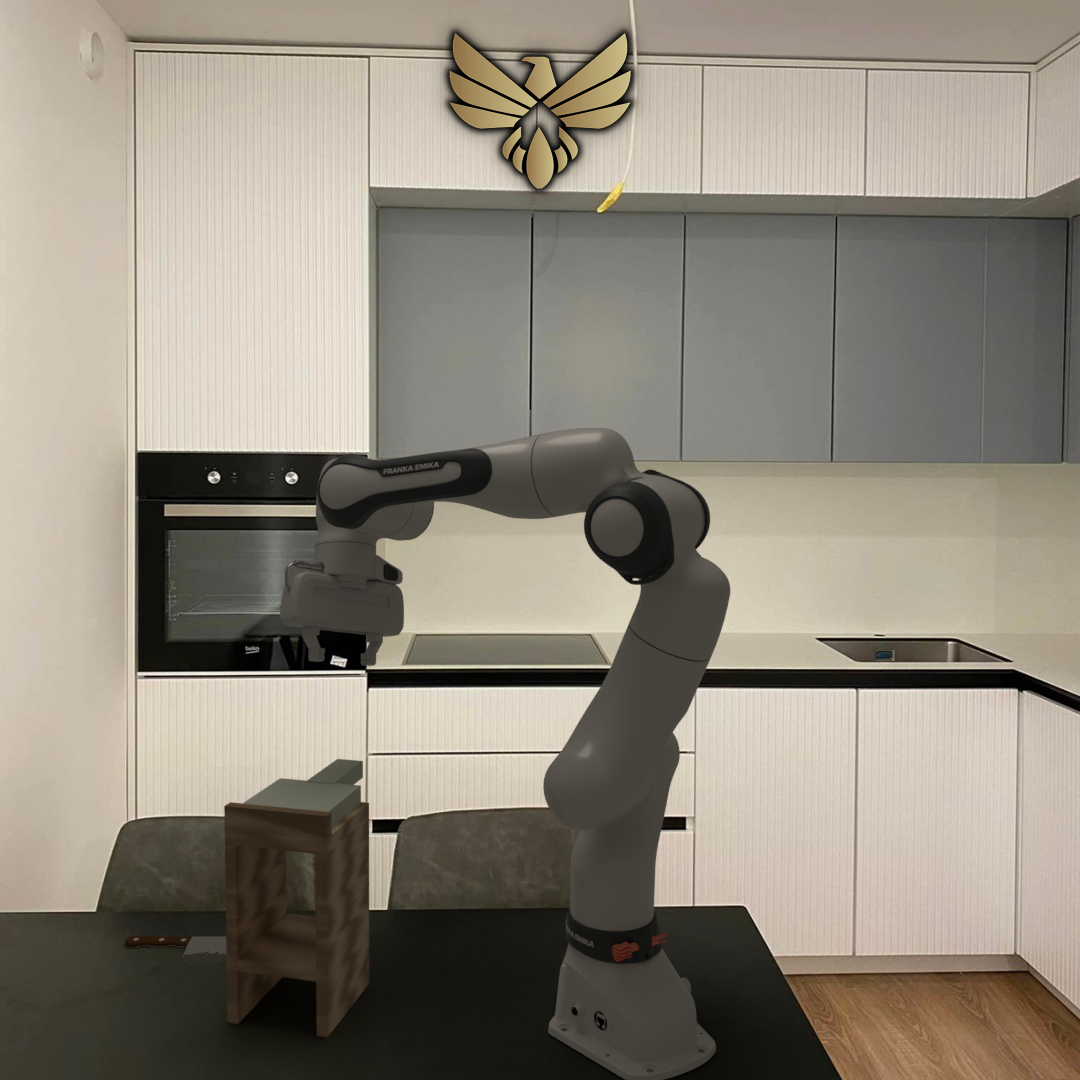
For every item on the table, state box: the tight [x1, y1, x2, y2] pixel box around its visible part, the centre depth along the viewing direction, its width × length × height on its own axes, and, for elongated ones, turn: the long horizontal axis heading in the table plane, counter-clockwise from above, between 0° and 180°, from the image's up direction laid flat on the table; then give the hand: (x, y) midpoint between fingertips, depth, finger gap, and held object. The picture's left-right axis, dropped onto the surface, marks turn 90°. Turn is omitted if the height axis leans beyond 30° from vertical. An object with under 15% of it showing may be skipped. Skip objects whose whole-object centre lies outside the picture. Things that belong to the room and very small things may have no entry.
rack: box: [223, 801, 370, 1038], centre depth 143 cm, size 14×14×29 cm
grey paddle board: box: [242, 758, 364, 828], centre depth 147 cm, size 22×12×2 cm, turn 167°
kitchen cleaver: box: [124, 935, 226, 957], centre depth 158 cm, size 24×1×10 cm
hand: (342, 663), depth 152 cm, fingers open, 8 cm apart
